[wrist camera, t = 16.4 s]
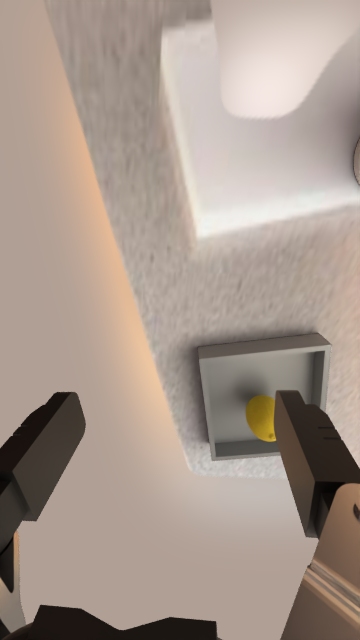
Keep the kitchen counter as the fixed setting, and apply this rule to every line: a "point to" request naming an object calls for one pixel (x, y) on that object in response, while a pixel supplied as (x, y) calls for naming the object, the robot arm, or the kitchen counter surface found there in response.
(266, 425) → the lemon
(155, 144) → the kitchen counter surface
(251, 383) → the tray
